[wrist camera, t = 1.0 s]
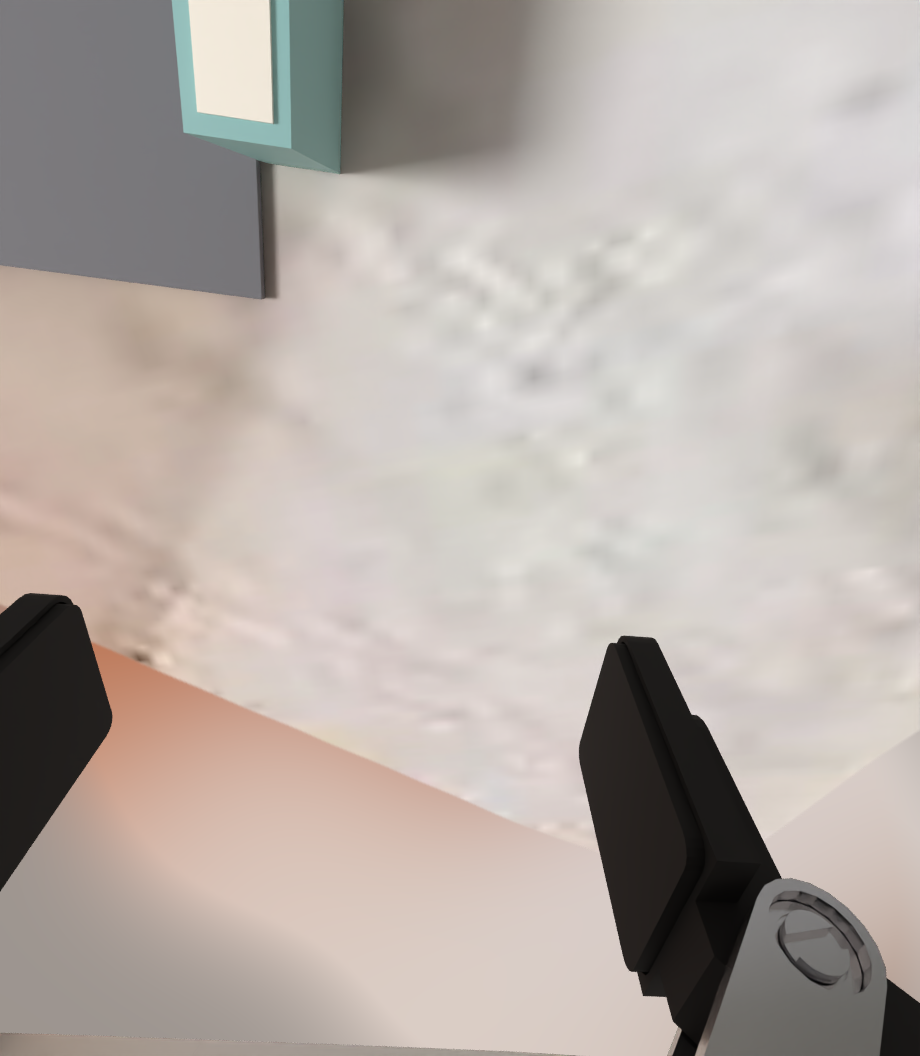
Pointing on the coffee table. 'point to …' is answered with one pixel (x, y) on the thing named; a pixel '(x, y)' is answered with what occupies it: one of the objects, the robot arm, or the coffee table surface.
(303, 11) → the teal slab
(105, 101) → the mat
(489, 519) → the coffee table surface
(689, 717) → the robot arm
